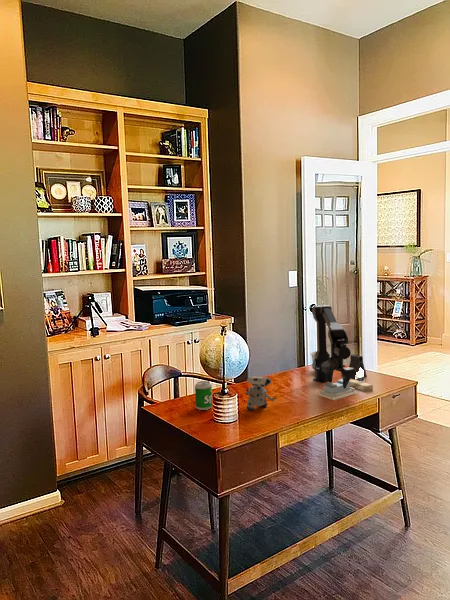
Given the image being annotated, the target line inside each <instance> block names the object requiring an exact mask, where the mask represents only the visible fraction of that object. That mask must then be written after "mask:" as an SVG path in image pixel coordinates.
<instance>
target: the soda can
mask: <svg viewBox="0 0 450 600" xmlns="http://www.w3.org/2000/svg"><path fill="white" fill-rule="evenodd" d="M212 386H213V385H212V384H211V383H210V381H207V380H201V381H198V382H196V384H195V385H194V395H195V397H194V398H195V408H196V409H197V410H198V409H199V410H198V411H200V410H207V411H209V410H208V409H210V408H212V407H213V389H212ZM210 410H211V409H210Z"/></svg>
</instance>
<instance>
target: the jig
mask: <svg viewBox="0 0 450 600" xmlns="http://www.w3.org/2000/svg"><path fill="white" fill-rule="evenodd" d="M353 394H354V395H356V394H357V391H356V388H353V387H350V390H346V391H343V392H339V393H336V394H332V393H328V392H325V391H324V389H323V390H319V393H318V396H320V397H323V398H326V399H329V400H331V401H337V400H340V399H344V398H347V397H350V395H351V396H354V395H353Z"/></svg>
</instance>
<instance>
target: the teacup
mask: <svg viewBox="0 0 450 600" xmlns="http://www.w3.org/2000/svg"><path fill="white" fill-rule="evenodd" d="M316 352H317V350H316V351H312V352H311V353H310V356H311V359H312V362H313V361H314V359H315V354H316ZM327 352H328V354H329V355H330V356H331V351H330V352H329V351H327Z"/></svg>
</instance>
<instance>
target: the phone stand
mask: <svg viewBox="0 0 450 600" xmlns="http://www.w3.org/2000/svg"><path fill="white" fill-rule="evenodd" d="M349 360H350V362H349V364H348V367H351V368H354V369H355V370H356V372H358V371H359V368H360V367H361V368H362V369H363V370H364V376H365V378H367V377H368V376H367V372H366V369H365V364H364V358H363V356H361V355H357V354H350V356H349ZM351 379H355V375H354V376H352V377H351Z"/></svg>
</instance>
